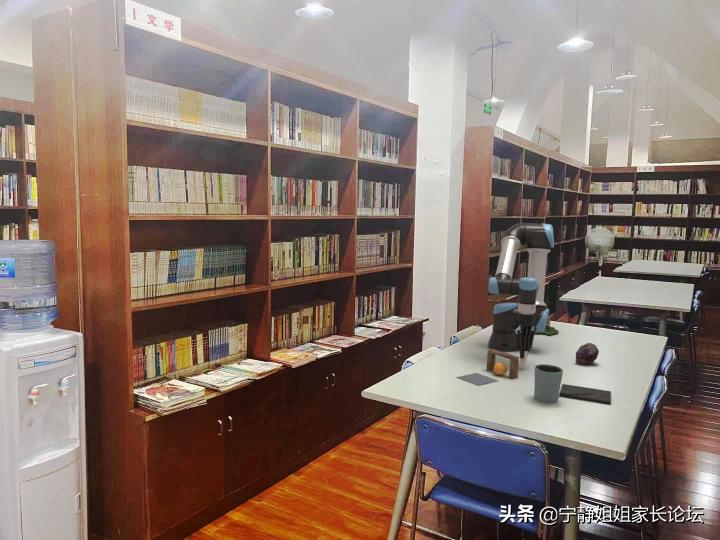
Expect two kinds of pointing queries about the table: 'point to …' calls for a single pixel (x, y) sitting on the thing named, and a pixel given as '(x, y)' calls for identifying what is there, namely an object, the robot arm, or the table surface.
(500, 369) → the ball
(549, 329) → the bonsai tree
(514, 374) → the bridge
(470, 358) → the table surface
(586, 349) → the rock
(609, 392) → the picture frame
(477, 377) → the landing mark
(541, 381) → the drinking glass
